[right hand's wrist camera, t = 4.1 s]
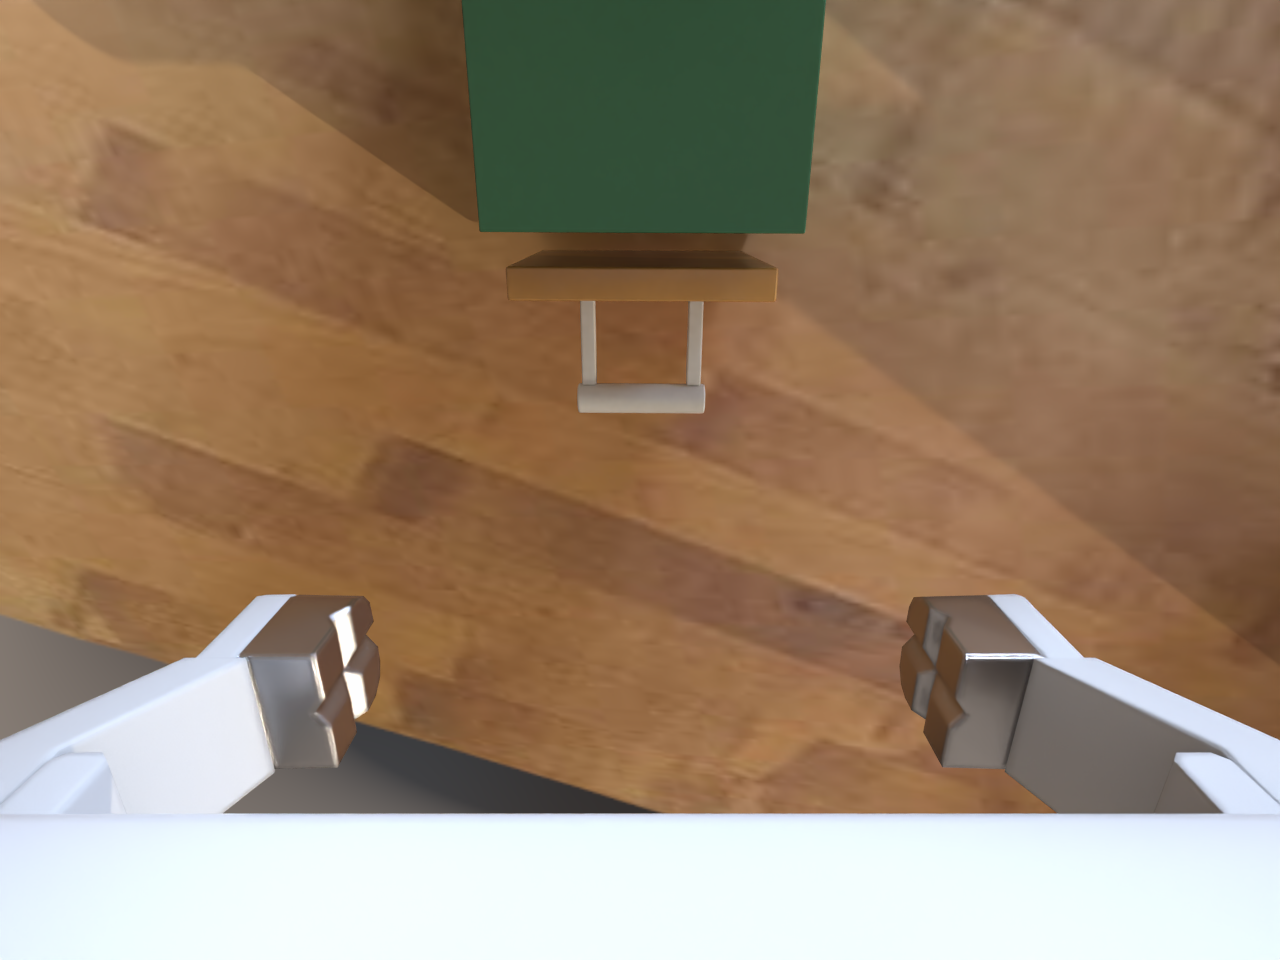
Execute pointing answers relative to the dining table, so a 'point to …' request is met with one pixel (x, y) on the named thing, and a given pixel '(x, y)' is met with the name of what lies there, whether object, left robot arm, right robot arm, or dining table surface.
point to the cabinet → (643, 114)
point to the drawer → (641, 281)
